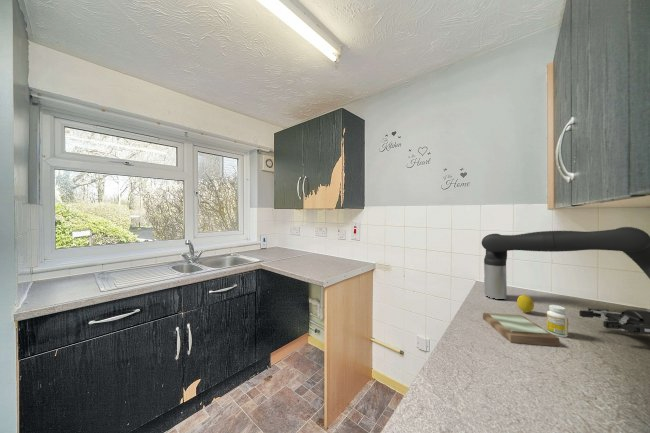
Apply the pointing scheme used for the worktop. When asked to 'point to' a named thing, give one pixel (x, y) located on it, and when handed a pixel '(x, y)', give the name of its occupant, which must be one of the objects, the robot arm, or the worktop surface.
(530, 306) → the lemon
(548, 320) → the supplement bottle
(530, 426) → the worktop surface
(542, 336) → the brown flat wooden block
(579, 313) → the robot arm
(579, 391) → the worktop surface
